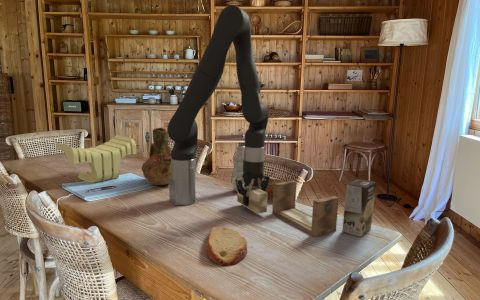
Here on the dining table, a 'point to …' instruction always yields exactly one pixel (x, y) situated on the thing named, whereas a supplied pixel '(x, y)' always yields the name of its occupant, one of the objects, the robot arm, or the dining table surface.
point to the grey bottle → (238, 165)
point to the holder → (315, 224)
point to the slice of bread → (226, 246)
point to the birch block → (255, 200)
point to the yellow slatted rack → (101, 157)
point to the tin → (271, 186)
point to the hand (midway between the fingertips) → (251, 204)
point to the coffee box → (358, 207)
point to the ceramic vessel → (158, 159)
